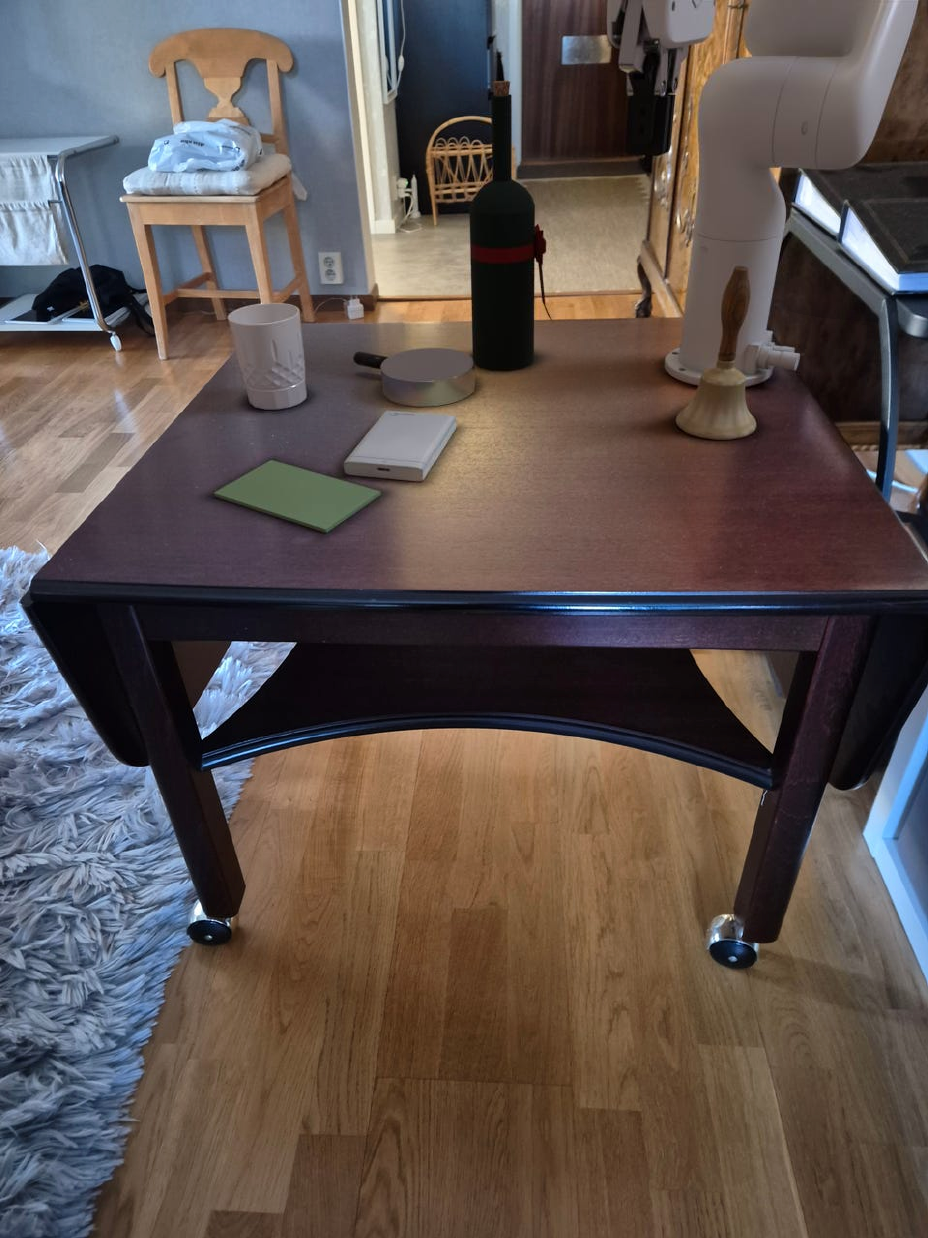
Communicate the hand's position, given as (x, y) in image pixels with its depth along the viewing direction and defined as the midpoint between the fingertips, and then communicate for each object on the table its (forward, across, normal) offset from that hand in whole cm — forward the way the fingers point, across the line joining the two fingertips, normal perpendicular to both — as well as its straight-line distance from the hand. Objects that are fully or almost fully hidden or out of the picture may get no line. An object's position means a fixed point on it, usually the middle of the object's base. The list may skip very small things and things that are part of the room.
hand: (647, 152), depth 67 cm
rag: (+27, -21, +24) cm, 42 cm away
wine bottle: (+27, +20, +24) cm, 41 cm away
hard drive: (+27, -8, +21) cm, 35 cm away
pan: (+27, +7, +31) cm, 42 cm away
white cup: (+27, -4, +42) cm, 50 cm away
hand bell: (+27, +13, -5) cm, 31 cm away
